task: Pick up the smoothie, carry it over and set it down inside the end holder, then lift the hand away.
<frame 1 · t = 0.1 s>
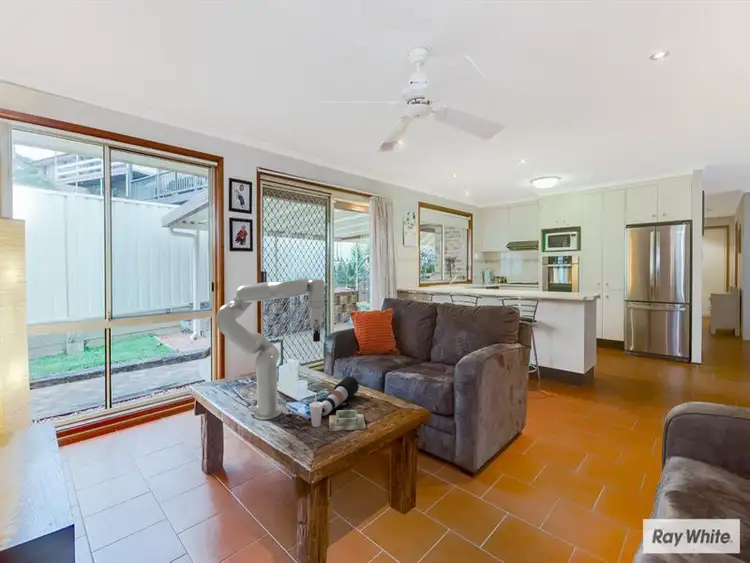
hand: (316, 339, 174), 37 cm above the table, tool pointing down, fingers open, 9 cm apart
smoothie: (316, 425, 163), on the table
white black banded cylinder: (335, 407, 184), on the table
end holder: (346, 423, 164), on the table
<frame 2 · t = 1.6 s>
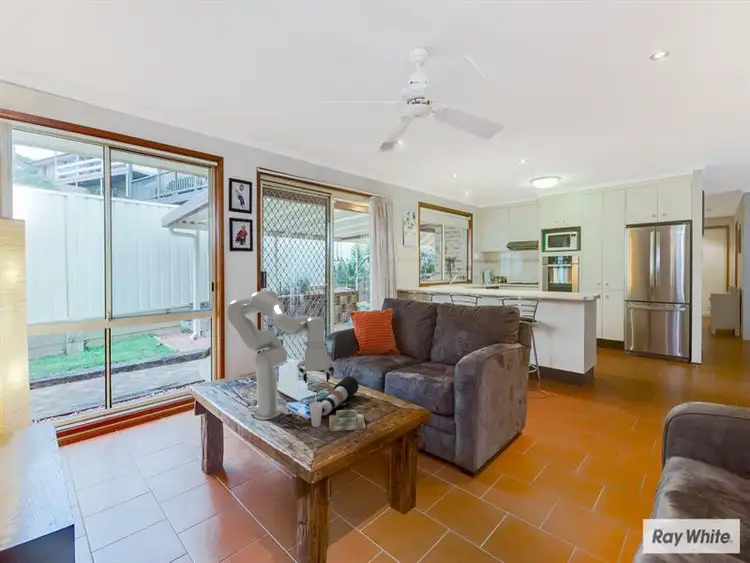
hand: (316, 381, 161), 20 cm above the table, tool pointing down, fingers open, 9 cm apart
nothing on the table moved.
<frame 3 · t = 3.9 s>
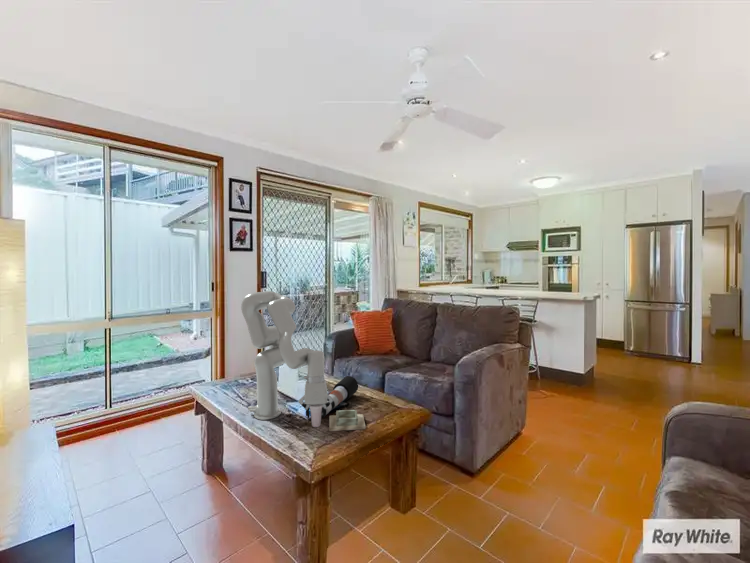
hand: (316, 416, 162), 4 cm above the table, tool pointing down, fingers closed on smoothie, 6 cm apart
smoothie: (316, 425, 163), on the table, touching gripper
everything else where it was.
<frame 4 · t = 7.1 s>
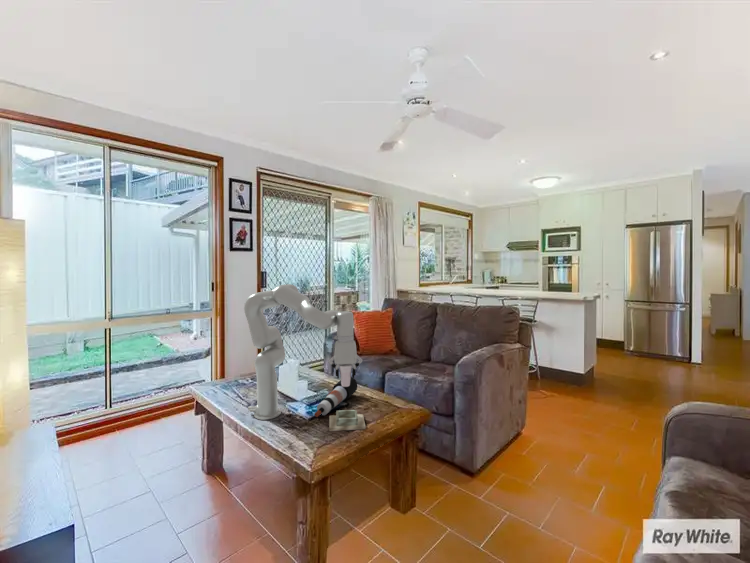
hand: (345, 376, 163), 22 cm above the table, tool pointing down, fingers closed on smoothie, 6 cm apart
smoothie: (345, 385, 163), point 18 cm above the table, touching gripper
everything else where it was.
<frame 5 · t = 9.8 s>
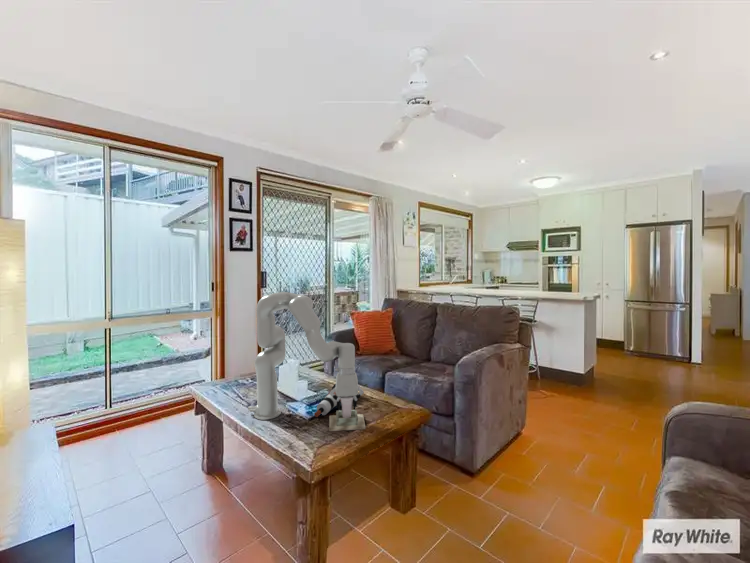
hand: (346, 408, 164), 7 cm above the table, tool pointing down, fingers closed on smoothie, 6 cm apart
smoothie: (346, 417, 164), point 3 cm above the table, touching gripper
everything else where it was.
when the fingers open (6 cm above the table, at t = 11.0 s): smoothie stays where it is, resting on end holder.
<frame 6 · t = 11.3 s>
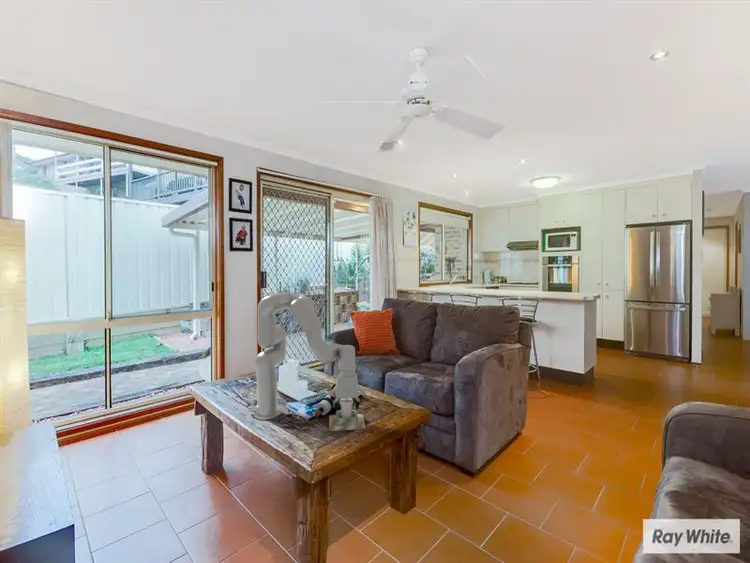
hand: (346, 409, 164), 7 cm above the table, tool pointing down, fingers open, 8 cm apart
smoothie: (346, 421, 164), point 1 cm above the table, touching end holder
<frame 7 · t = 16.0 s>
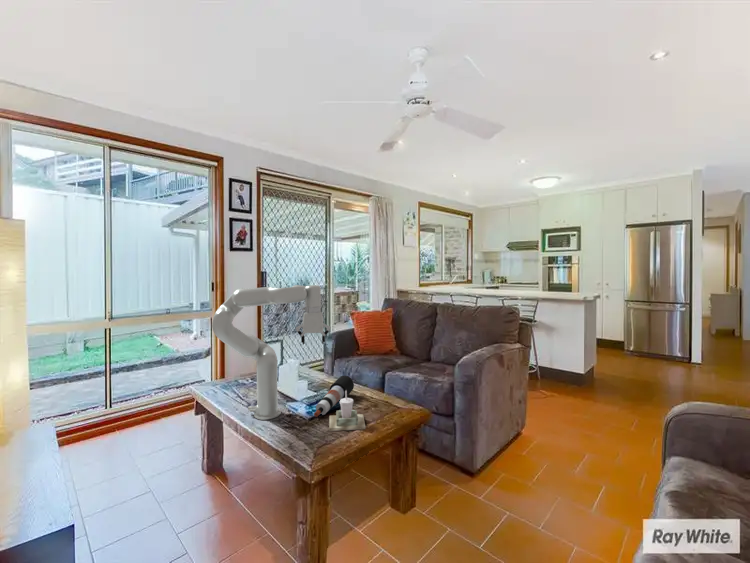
hand: (313, 343, 179), 33 cm above the table, tool pointing down, fingers open, 9 cm apart
at the end: smoothie 0.1 cm off-centre on the end holder, point 1.0 cm above the end holder's base; smoothie tilted 0°; the gripper is holding nothing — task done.
